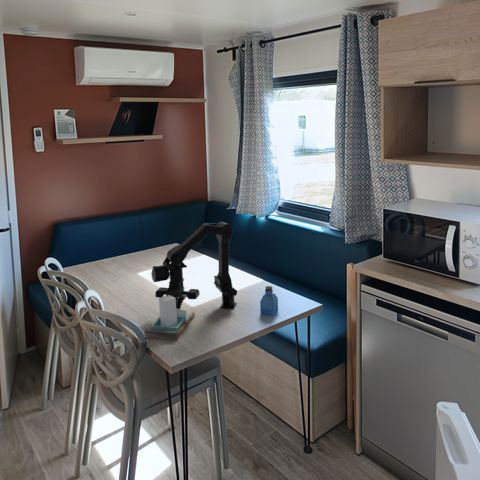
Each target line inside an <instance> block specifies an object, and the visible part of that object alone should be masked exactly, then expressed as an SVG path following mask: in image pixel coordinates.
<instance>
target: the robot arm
mask: <svg viewBox="0 0 480 480" xmlns="http://www.w3.org/2000/svg"><path fill="white" fill-rule="evenodd" d="M209 234H211V235H216V236H215V237H216V239H217V241H218V272H217V275H214V276H213V277H214V282H213V285H215V288H216V289H217V290H218V291H219V292H220V293H221V302H222V303H221V305H220V308H221V309H232V310H233V309H235V307H236V305H237V302H235V297H236V296H237V294H238V290H237V289H236V288H235V287H233V282H232V279H231V275H230V268H229V267H230V266H229V265H230V242H231V239H232V238H233V237H232V236H233V227H232V226H231V224H229V223H226V222H224V221H219V222H218V223H214V222H213V223H212V222H211V223H206V222H205V223H202V224H201V225H200V226H199V227H198V228H197V229H196V230H195V231H194V232H192V234H190V235H189V237H187V238H186V239H184V241H183V242H181V243H180V244H178V245H175V246H174V247H172V248H171V249H169V250H168V251H167V253H166V257H165V258H164V260H163V262H162V264H161V265H153V266H152V270H151V273H150V274H151V275H150V276H151V279H152V282H153V283H159V282H164V281H168V280H169V282H168V287H161V286H160V287H159V288H158V289H157V290H156V291H155V293H154V294H155V295H154V296H155V298H158V299H159V298H161V297H164V295H165V296H167V295H170V296H172V297H174V298H176V309H182V305H183V302H184V301H185V300H186V298H187V299H188V300H197V299H198V298H199V296H200V290H199V289H197V288H190V289H189V290H188V291H187V290H185V286H184V281H185V278H184V276H183V275H184V274H183V269H185V268H187V267H188V265H186V264H185V262H184V260H185V259H186V258H187V256H188V254H189V252H190V251H191V250H192V249H194V247H195V246H197V245H198V244H199V243H200V242H201V241H202V240H203V239H204V238H206V237H207V235H209Z"/></svg>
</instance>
